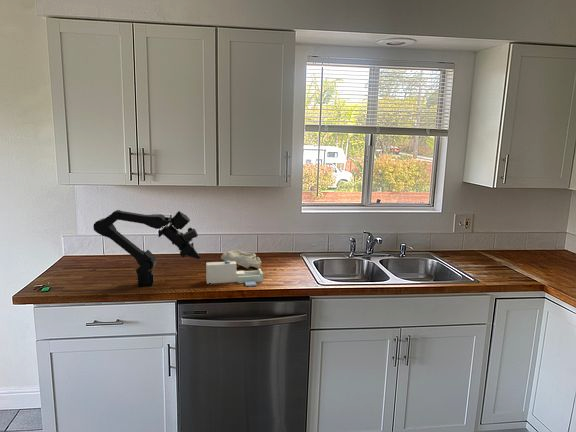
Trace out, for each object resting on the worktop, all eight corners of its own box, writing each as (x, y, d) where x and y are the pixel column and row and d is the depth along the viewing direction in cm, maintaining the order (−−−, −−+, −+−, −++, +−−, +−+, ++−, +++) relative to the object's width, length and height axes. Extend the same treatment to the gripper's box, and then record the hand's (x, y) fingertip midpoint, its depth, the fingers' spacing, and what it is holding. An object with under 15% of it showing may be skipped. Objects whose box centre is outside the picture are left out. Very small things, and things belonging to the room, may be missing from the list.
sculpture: (223, 269, 237) (215, 268, 222) (223, 250, 239) (215, 248, 224) (265, 268, 234) (260, 267, 219) (265, 249, 236) (260, 247, 221)
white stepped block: (206, 283, 198) (206, 263, 197) (206, 280, 203) (206, 261, 201) (244, 281, 203) (244, 261, 201) (243, 278, 207) (243, 259, 205)
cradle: (239, 287, 195) (239, 278, 194) (234, 274, 213) (234, 266, 213) (265, 285, 197) (265, 277, 197) (258, 272, 216) (258, 265, 215)
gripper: (187, 227, 185) (212, 250, 189) (187, 219, 203) (210, 241, 207) (169, 245, 184) (195, 268, 189) (170, 236, 202) (194, 257, 207)
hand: (199, 258), depth 198 cm, fingers closed
